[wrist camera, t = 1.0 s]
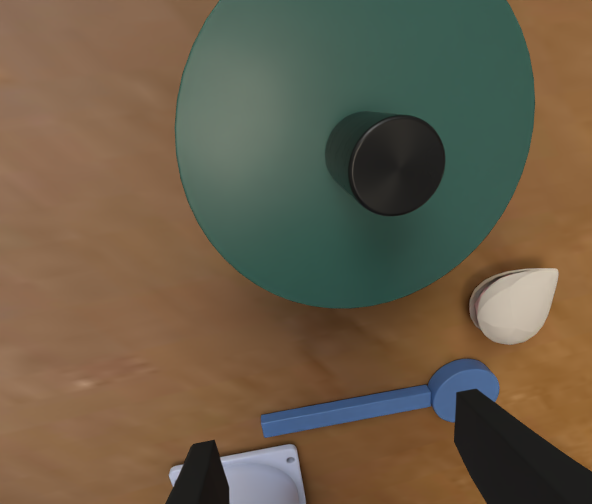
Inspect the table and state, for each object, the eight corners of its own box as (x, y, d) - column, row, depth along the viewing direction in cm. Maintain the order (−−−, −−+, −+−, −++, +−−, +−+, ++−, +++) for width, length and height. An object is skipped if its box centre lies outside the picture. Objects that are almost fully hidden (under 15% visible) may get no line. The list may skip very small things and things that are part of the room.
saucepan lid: (495, 268, 14) (580, 327, 10) (220, 315, 13) (209, 394, 10) (530, -80, 10) (692, -183, 6) (136, -36, 9) (64, -123, 6)
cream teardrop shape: (447, 296, 21) (472, 321, 18) (521, 235, 20) (557, 253, 17) (486, 338, 22) (514, 366, 20) (557, 283, 21) (595, 306, 19)
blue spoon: (487, 404, 24) (496, 416, 23) (267, 445, 23) (268, 460, 22) (492, 352, 23) (503, 363, 22) (256, 395, 22) (256, 408, 21)
